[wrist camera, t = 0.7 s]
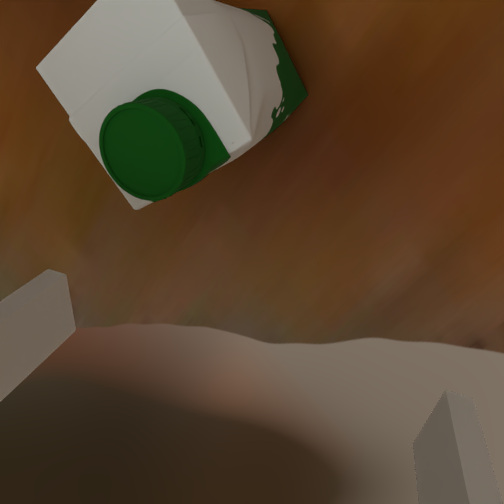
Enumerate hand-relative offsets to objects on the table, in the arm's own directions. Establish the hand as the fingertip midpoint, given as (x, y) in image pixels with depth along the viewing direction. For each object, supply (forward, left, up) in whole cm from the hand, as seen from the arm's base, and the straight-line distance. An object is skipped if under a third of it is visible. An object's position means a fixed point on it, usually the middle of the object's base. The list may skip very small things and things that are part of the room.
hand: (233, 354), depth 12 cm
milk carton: (-9, -4, -24) cm, 26 cm away
